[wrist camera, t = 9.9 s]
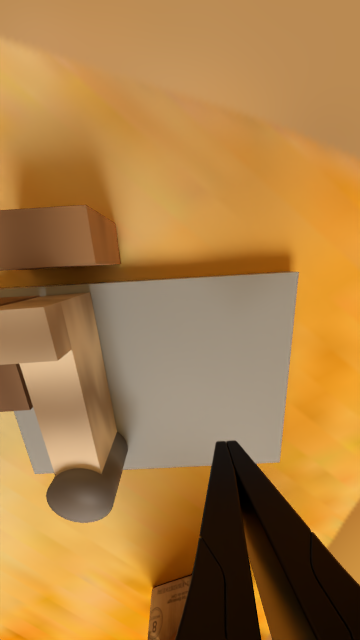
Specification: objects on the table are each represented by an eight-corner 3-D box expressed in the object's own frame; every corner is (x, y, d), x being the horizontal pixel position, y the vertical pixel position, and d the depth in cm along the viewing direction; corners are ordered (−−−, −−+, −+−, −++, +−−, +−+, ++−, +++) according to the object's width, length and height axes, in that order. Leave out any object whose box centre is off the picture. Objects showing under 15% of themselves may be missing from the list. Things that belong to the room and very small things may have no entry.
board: (42, 462, 17) (34, 473, 16) (-12, 289, 13) (-27, 291, 12) (273, 451, 17) (279, 462, 16) (289, 271, 13) (298, 272, 12)
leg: (131, 465, 16) (113, 537, 12) (81, 468, 16) (47, 541, 12) (100, 291, 12) (58, 306, 8) (35, 296, 12) (-39, 313, 8)
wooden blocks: (28, 374, 15) (-23, 412, 11) (-14, 231, 12) (-101, 216, 9) (134, 369, 15) (118, 405, 11) (115, 223, 12) (85, 205, 8)
